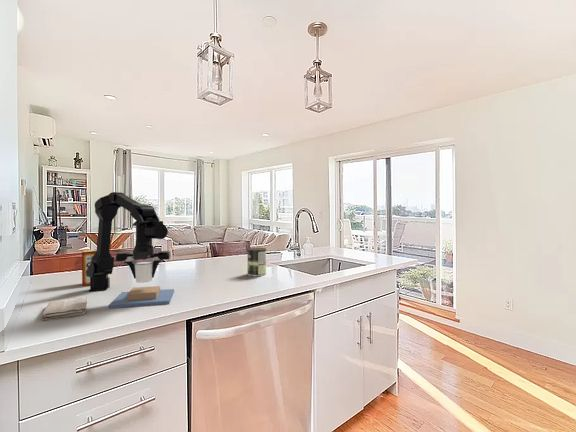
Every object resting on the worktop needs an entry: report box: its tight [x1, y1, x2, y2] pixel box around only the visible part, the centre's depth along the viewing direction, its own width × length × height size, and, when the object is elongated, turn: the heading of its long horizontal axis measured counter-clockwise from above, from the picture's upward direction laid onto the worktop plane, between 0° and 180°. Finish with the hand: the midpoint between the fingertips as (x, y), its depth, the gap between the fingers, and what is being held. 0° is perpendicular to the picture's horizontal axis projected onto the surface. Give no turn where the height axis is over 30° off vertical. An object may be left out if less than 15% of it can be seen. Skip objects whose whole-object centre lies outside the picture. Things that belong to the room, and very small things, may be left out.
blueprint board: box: [108, 285, 175, 309], centre depth 120 cm, size 20×18×4 cm
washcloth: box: [40, 296, 88, 322], centre depth 106 cm, size 12×18×3 cm, turn 32°
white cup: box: [134, 261, 153, 284], centre depth 120 cm, size 7×7×7 cm
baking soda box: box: [81, 249, 97, 287], centre depth 146 cm, size 10×6×16 cm
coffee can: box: [246, 247, 267, 277], centre depth 168 cm, size 10×10×14 cm
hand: (144, 278), depth 120 cm, fingers closed on white cup, 6 cm apart
